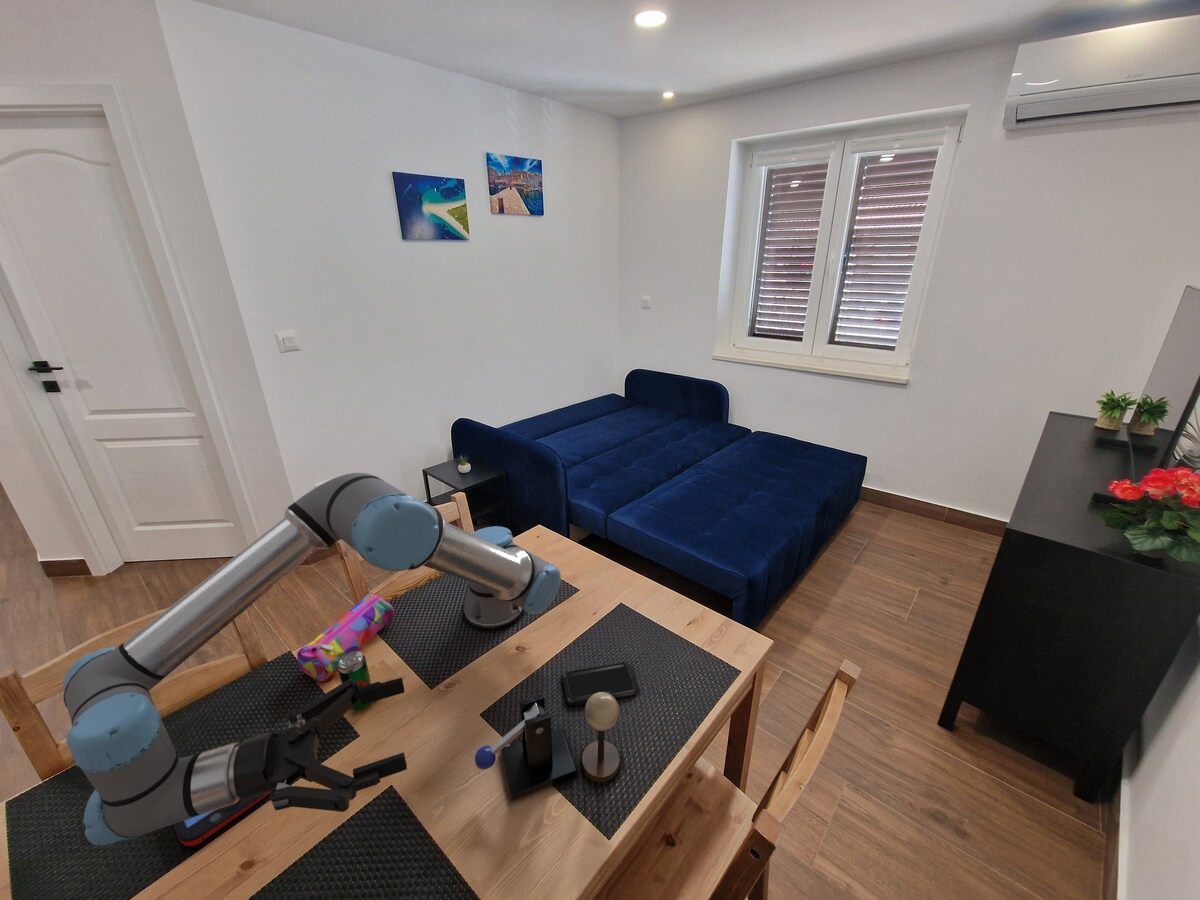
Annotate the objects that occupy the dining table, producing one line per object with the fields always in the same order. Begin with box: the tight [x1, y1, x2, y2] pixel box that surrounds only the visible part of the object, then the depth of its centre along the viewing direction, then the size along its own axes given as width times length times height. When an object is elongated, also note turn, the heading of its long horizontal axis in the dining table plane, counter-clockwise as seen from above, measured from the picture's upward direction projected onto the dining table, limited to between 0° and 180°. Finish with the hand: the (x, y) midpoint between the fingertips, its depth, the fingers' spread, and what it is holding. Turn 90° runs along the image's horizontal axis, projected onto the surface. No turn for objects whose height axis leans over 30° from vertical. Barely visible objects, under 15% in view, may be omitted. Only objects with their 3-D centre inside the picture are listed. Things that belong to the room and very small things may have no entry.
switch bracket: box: [500, 693, 577, 801], centre depth 87 cm, size 12×9×15 cm
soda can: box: [337, 650, 373, 712], centre depth 99 cm, size 5×5×12 cm
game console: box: [173, 740, 274, 847], centre depth 84 cm, size 14×13×2 cm
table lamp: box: [581, 692, 621, 784], centre depth 87 cm, size 7×7×17 cm
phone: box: [562, 662, 637, 707], centre depth 106 cm, size 8×1×15 cm
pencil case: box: [296, 593, 395, 682], centre depth 112 cm, size 22×9×9 cm, turn 160°
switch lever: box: [474, 703, 546, 771], centre depth 84 cm, size 14×4×4 cm
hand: (404, 719), depth 74 cm, fingers open, 13 cm apart
